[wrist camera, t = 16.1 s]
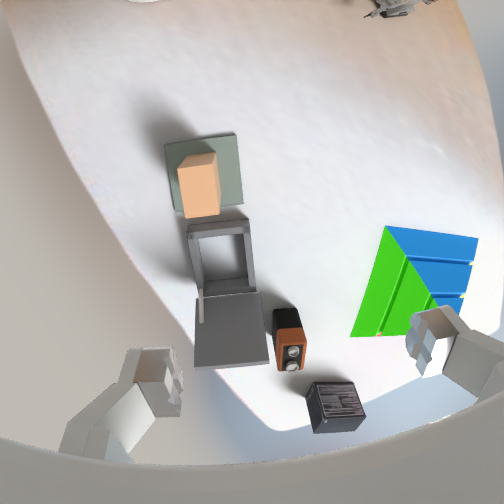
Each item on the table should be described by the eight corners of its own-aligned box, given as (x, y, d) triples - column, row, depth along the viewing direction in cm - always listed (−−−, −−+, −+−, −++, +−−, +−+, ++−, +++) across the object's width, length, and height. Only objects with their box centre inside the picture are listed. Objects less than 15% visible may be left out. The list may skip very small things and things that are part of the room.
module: (187, 155, 42) (177, 168, 34) (216, 151, 42) (212, 163, 34) (193, 196, 45) (185, 218, 37) (221, 193, 45) (219, 214, 37)
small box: (303, 398, 68) (311, 435, 59) (312, 381, 65) (322, 419, 56) (343, 398, 69) (355, 432, 60) (354, 381, 67) (367, 416, 57)
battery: (271, 337, 58) (278, 376, 49) (272, 308, 55) (280, 347, 46) (294, 335, 58) (304, 374, 49) (297, 306, 55) (309, 345, 46)
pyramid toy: (479, 234, 52) (523, 268, 40) (438, 332, 63) (467, 374, 51) (381, 220, 50) (424, 261, 37) (344, 337, 61) (367, 390, 48)
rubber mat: (165, 144, 42) (164, 145, 41) (236, 134, 42) (236, 135, 41) (176, 211, 46) (175, 212, 46) (243, 202, 46) (243, 204, 46)
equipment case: (185, 225, 47) (169, 277, 34) (251, 218, 47) (261, 267, 34) (201, 307, 54) (195, 371, 41) (259, 301, 54) (269, 365, 41)
